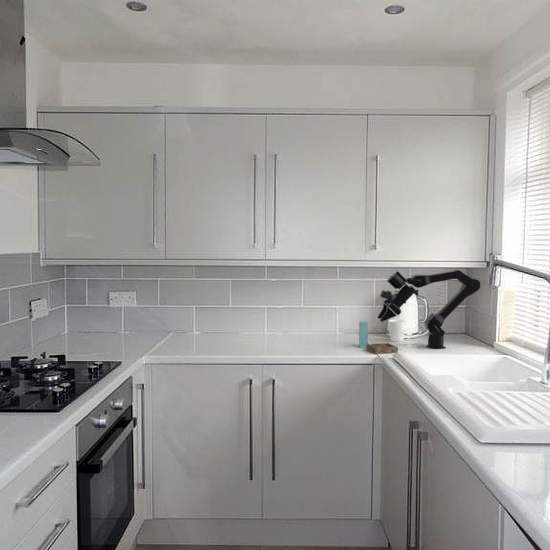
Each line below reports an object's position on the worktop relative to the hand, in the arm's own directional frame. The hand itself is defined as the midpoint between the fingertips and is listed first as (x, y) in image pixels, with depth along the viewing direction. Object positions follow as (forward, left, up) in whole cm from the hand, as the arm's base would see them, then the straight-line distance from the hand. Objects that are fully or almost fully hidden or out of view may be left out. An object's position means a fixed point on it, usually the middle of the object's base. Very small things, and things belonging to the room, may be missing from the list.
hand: (379, 319), depth 246 cm
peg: (+7, -3, -13) cm, 15 cm away
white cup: (-17, -9, -13) cm, 24 cm away
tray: (+4, +8, -13) cm, 16 cm away
